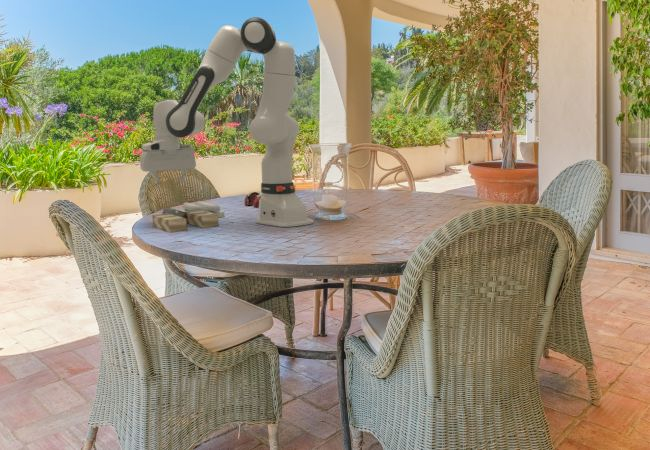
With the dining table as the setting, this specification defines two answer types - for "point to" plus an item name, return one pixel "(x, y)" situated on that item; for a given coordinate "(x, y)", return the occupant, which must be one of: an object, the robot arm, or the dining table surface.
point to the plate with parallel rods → (203, 208)
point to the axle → (175, 212)
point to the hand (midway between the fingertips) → (169, 182)
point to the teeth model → (253, 199)
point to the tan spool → (180, 224)
